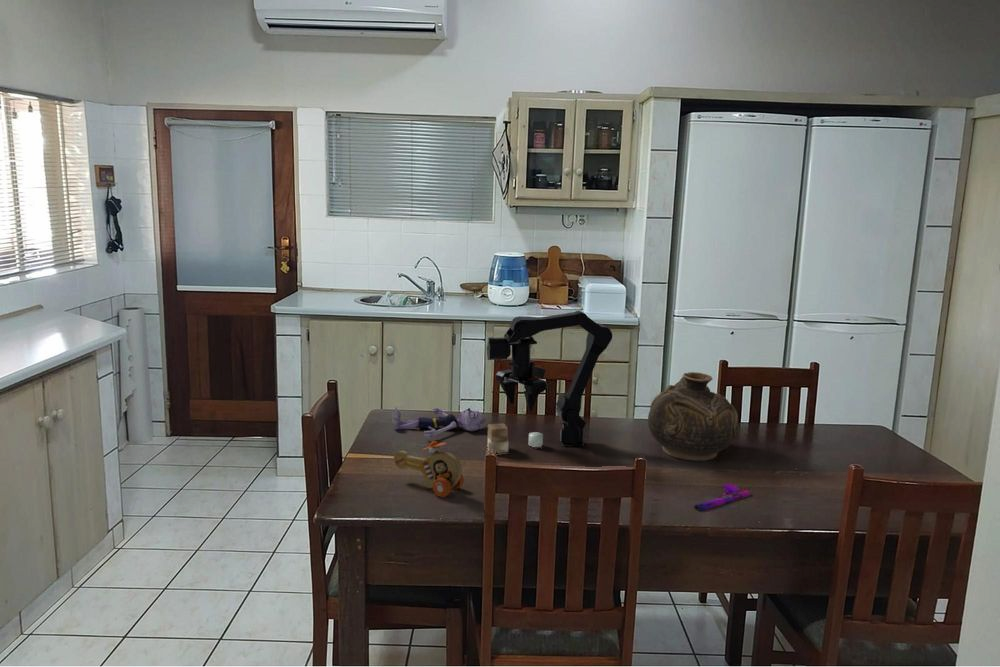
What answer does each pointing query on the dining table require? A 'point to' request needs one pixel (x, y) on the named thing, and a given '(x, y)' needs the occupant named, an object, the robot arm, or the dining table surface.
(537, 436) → the grey rounded cylinder
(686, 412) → the vessel
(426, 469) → the toy helicopter
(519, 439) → the dining table surface
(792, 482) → the dining table surface
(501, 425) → the top block
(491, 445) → the base block
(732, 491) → the handgun
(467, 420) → the toy
